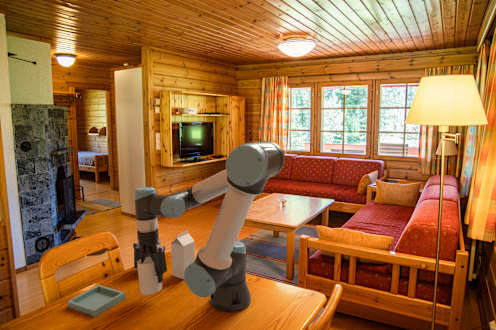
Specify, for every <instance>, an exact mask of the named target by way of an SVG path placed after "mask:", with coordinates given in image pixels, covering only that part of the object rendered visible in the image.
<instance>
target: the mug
mask: <svg viewBox="0 0 496 330" xmlns="http://www.w3.org/2000/svg"><path fill="white" fill-rule="evenodd" d="M137 266H138V269H137V274H138V282H139V283H138V284H139V292H140V294H141V295H142V296H150V295H154V294H155V293H157V292H156V285H155V274H156V270H155V264H154V262H153V261H152V258H150V257H146V258H145V260H144V262H143V263H142V264H141V259H139V260H138V261H137Z"/></svg>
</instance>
